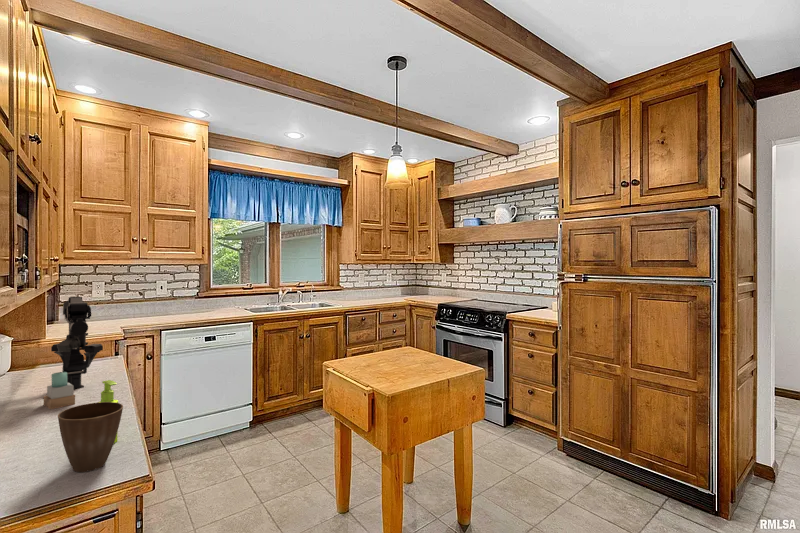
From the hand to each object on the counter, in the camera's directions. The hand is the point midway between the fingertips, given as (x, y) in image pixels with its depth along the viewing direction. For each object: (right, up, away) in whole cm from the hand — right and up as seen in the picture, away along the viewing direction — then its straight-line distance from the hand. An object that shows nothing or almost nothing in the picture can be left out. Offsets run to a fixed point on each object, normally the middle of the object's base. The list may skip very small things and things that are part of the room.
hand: (76, 367), depth 181 cm
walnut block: (+1, -13, -11) cm, 17 cm away
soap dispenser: (+46, -13, -47) cm, 67 cm away
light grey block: (+1, -9, -11) cm, 14 cm away
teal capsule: (+1, -5, -11) cm, 12 cm away
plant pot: (+52, -13, -62) cm, 82 cm away
